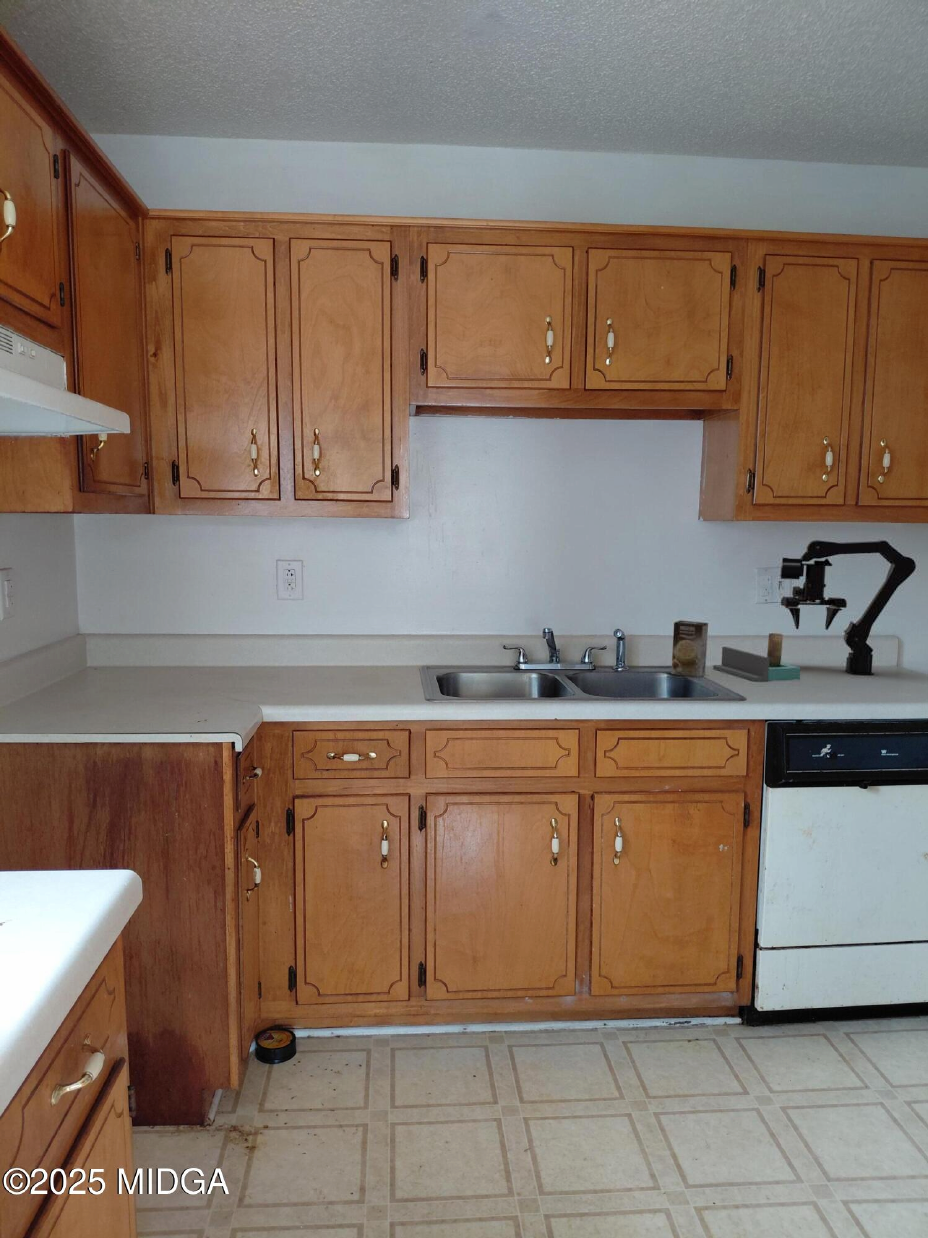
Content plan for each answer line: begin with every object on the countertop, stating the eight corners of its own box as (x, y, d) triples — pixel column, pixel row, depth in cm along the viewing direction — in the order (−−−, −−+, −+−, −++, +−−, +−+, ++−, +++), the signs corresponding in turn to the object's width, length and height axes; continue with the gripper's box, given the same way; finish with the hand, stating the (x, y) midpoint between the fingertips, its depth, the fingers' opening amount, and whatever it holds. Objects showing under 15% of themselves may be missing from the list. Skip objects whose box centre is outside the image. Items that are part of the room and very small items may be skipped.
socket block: (776, 674, 269) (777, 661, 269) (799, 681, 259) (800, 667, 258) (745, 676, 266) (746, 663, 266) (768, 682, 256) (768, 669, 255)
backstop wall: (725, 668, 276) (726, 646, 275) (768, 681, 255) (769, 657, 254) (713, 668, 275) (714, 647, 274) (754, 681, 254) (755, 658, 253)
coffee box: (670, 674, 264) (672, 622, 263) (677, 671, 270) (679, 620, 268) (700, 677, 260) (702, 624, 258) (706, 674, 265) (708, 622, 263)
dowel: (779, 674, 264) (783, 634, 262) (779, 676, 260) (782, 635, 258) (766, 673, 265) (769, 632, 263) (765, 675, 261) (768, 634, 260)
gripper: (834, 578, 280) (831, 626, 282) (776, 577, 280) (773, 625, 282) (849, 581, 269) (845, 631, 271) (788, 580, 269) (785, 630, 271)
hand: (811, 629), depth 274 cm, fingers open, 9 cm apart
